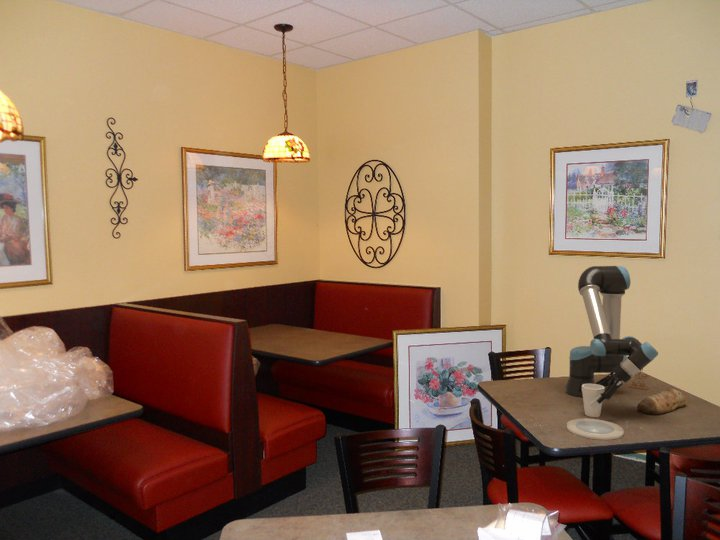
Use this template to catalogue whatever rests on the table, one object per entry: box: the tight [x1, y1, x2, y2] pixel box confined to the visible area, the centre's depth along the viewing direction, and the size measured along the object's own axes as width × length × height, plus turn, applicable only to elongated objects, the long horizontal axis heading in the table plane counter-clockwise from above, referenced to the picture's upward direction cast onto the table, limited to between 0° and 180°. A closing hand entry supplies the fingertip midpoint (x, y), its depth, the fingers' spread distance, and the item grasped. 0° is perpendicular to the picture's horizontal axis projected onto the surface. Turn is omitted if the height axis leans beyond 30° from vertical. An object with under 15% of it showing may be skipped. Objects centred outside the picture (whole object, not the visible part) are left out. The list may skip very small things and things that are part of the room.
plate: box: [566, 417, 625, 441], centre depth 241 cm, size 22×22×1 cm
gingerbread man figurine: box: [628, 368, 650, 391], centre depth 301 cm, size 9×4×12 cm, turn 50°
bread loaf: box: [636, 388, 687, 416], centre depth 268 cm, size 35×18×9 cm, turn 132°
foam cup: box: [582, 383, 606, 418], centre depth 260 cm, size 10×9×13 cm
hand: (589, 402), depth 260 cm, fingers open, 13 cm apart
